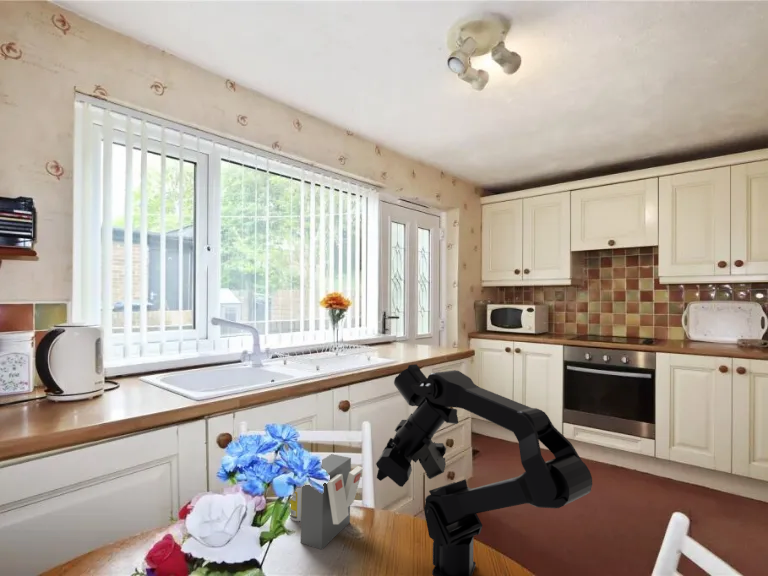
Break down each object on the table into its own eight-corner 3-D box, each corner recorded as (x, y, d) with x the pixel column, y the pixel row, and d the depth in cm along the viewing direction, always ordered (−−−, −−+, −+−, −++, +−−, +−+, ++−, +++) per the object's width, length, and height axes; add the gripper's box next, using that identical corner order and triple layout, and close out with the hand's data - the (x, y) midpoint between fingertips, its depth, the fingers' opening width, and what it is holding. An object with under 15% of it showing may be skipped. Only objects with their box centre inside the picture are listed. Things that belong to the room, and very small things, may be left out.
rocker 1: (349, 514, 83) (343, 474, 84) (339, 524, 80) (333, 481, 81) (343, 514, 84) (337, 474, 85) (333, 524, 80) (326, 481, 81)
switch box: (349, 522, 90) (350, 457, 91) (321, 549, 80) (323, 476, 81) (330, 517, 93) (331, 454, 93) (300, 542, 83) (302, 472, 83)
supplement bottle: (316, 510, 95) (317, 467, 96) (310, 523, 90) (311, 477, 90) (293, 509, 96) (294, 466, 96) (286, 521, 90) (287, 476, 91)
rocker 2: (354, 502, 89) (364, 468, 88) (345, 511, 86) (354, 475, 85) (348, 499, 90) (358, 465, 89) (339, 507, 86) (349, 472, 85)
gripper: (452, 474, 71) (399, 535, 74) (460, 430, 89) (417, 481, 92) (401, 432, 73) (352, 493, 76) (419, 397, 91) (379, 448, 94)
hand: (378, 478), depth 85 cm, fingers closed
